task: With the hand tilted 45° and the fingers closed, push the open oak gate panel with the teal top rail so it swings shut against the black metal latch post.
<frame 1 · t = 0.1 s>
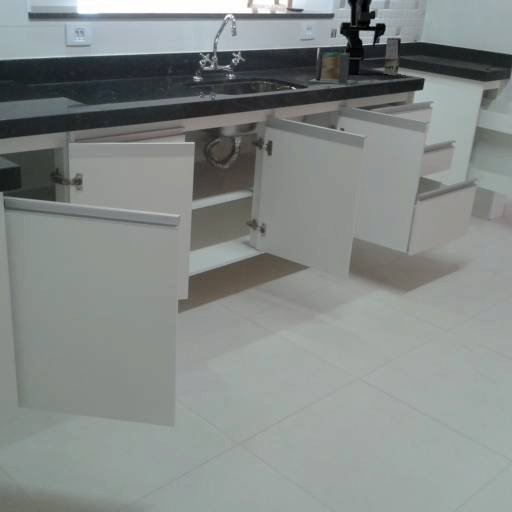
hand: (362, 47, 299), 15 cm above the counter, tool tilted 35°, fingers open, 9 cm apart
coffee box: (390, 74, 337), on the counter
gate mat: (318, 81, 307), on the counter
gate frame: (318, 81, 307), resting on gate mat
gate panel: (335, 66, 306), point 7 cm above the counter, hinge at 28.0°
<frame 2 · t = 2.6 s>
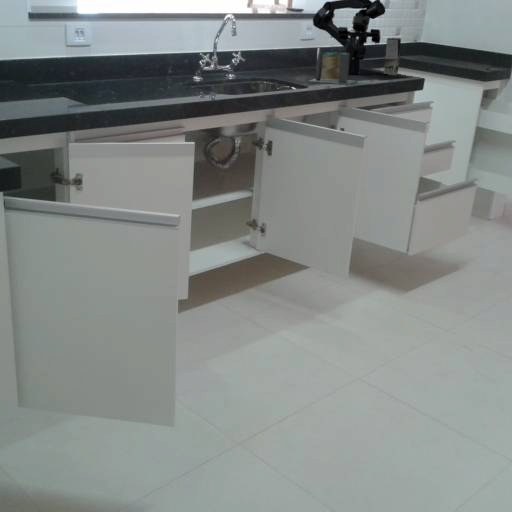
hand: (354, 49, 315), 12 cm above the counter, tool tilted 45°, fingers closed
nothing on the counter moved.
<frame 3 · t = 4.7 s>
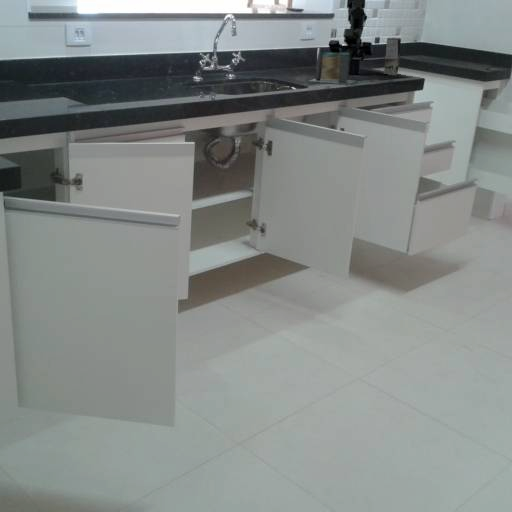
hand: (346, 62, 306), 8 cm above the counter, tool tilted 45°, fingers closed
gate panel: (335, 66, 306), point 7 cm above the counter, hinge at 27.9°, touching gripper
everything else where it was.
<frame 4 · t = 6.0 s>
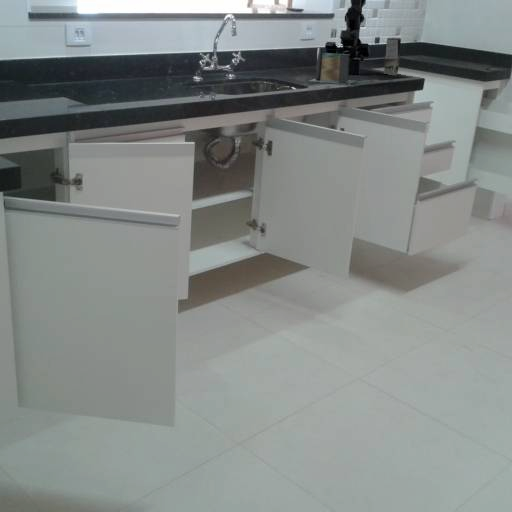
hand: (343, 65, 301), 8 cm above the counter, tool tilted 45°, fingers closed on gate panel
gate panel: (335, 67, 302), point 7 cm above the counter, hinge at -0.9°, touching gripper
everything else where it was.
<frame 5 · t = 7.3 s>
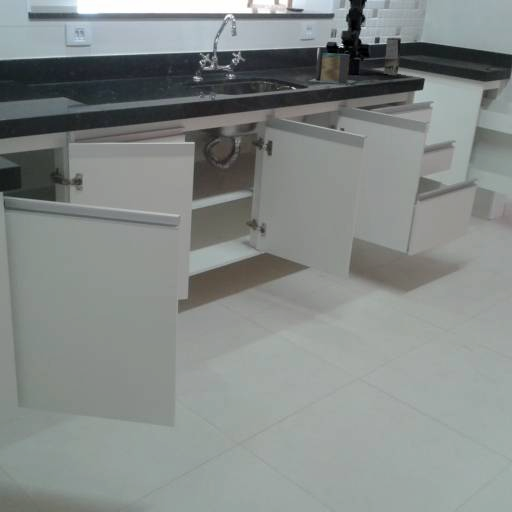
hand: (343, 65, 304), 7 cm above the counter, tool tilted 45°, fingers closed
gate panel: (335, 67, 302), point 7 cm above the counter, hinge at -0.7°
everything else where it was.
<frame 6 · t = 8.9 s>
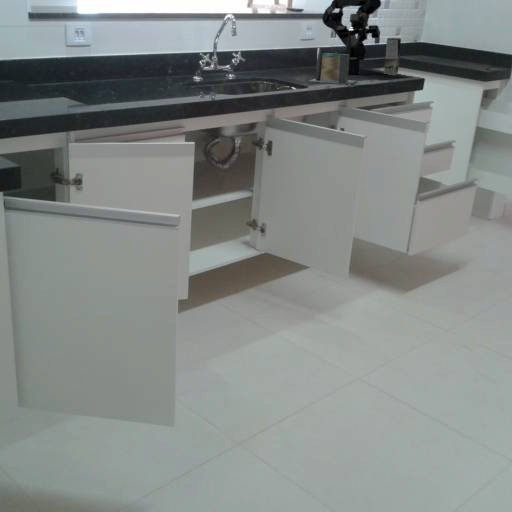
hand: (353, 47, 313), 13 cm above the counter, tool tilted 40°, fingers closed
nothing on the counter moved.
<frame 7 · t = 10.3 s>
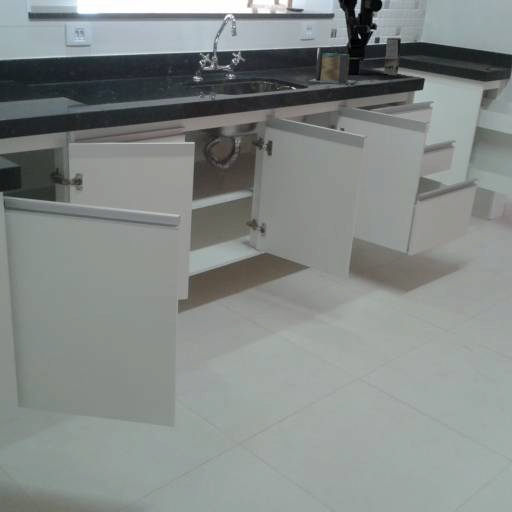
hand: (363, 47, 318), 13 cm above the counter, tool pointing down, fingers closed
nothing on the counter moved.
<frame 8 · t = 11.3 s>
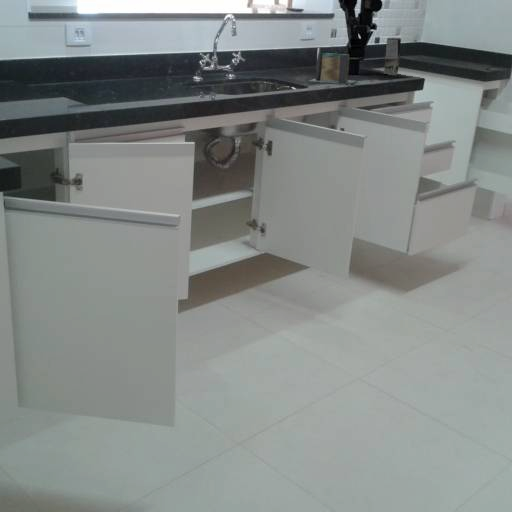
hand: (363, 47, 318), 13 cm above the counter, tool pointing down, fingers closed
nothing on the counter moved.
at the end: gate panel at -1° (first picture: +28°) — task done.
